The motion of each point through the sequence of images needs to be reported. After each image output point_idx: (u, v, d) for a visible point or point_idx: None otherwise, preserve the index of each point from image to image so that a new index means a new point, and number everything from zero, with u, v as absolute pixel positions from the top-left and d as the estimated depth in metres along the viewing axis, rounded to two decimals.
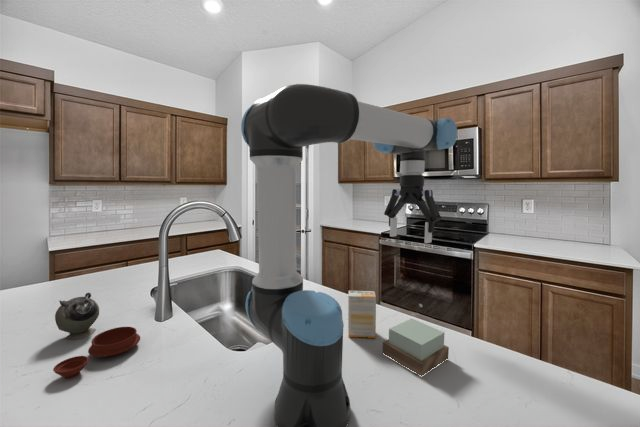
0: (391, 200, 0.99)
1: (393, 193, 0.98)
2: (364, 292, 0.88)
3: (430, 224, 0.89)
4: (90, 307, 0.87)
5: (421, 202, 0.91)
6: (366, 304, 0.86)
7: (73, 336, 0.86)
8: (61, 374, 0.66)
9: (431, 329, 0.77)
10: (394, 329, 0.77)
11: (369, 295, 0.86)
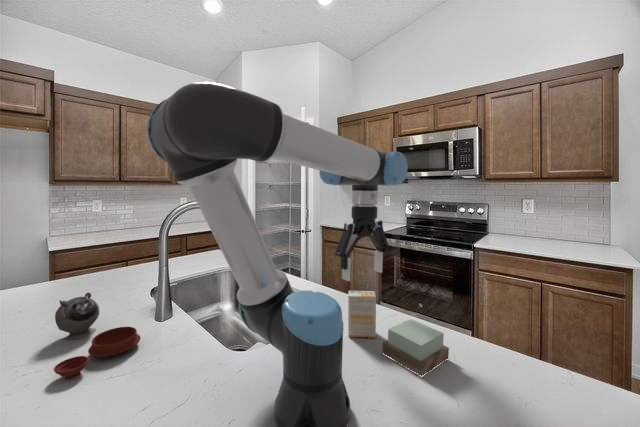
0: None
1: None
2: (364, 292, 0.88)
3: None
4: (90, 307, 0.87)
5: (353, 236, 0.84)
6: (366, 304, 0.86)
7: (73, 336, 0.86)
8: (61, 374, 0.66)
9: (430, 330, 0.77)
10: (394, 330, 0.77)
11: (369, 295, 0.86)
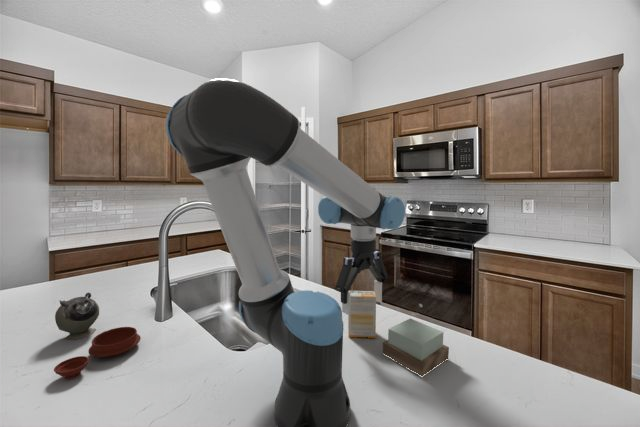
0: None
1: None
2: (364, 292, 0.88)
3: None
4: (90, 307, 0.87)
5: (352, 269, 0.85)
6: (366, 304, 0.86)
7: (73, 336, 0.86)
8: (62, 374, 0.66)
9: (430, 329, 0.77)
10: (394, 329, 0.77)
11: (369, 295, 0.86)
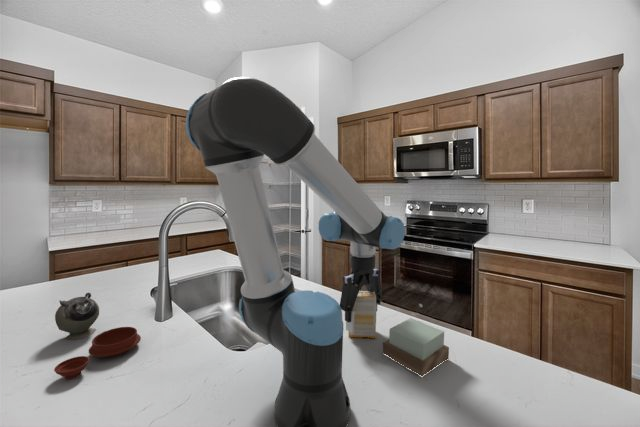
0: None
1: None
2: (364, 292, 0.88)
3: None
4: (90, 307, 0.87)
5: (353, 287, 0.86)
6: (366, 304, 0.86)
7: (73, 336, 0.86)
8: (62, 374, 0.66)
9: (431, 328, 0.77)
10: (395, 329, 0.77)
11: (369, 295, 0.86)
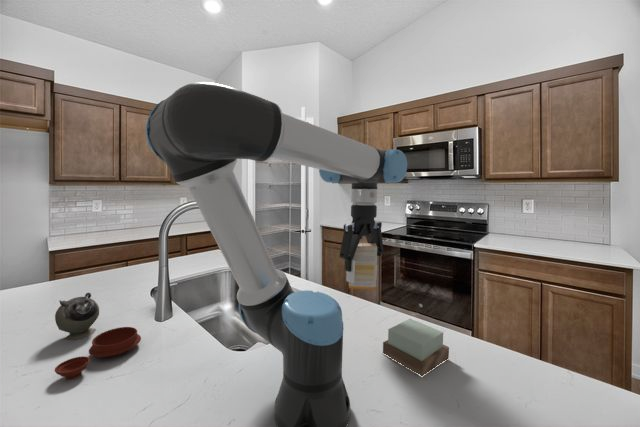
0: None
1: None
2: (365, 243, 0.87)
3: None
4: (90, 307, 0.87)
5: (354, 236, 0.84)
6: (367, 254, 0.84)
7: (73, 336, 0.86)
8: (63, 375, 0.66)
9: (430, 329, 0.77)
10: (394, 330, 0.77)
11: (370, 245, 0.85)
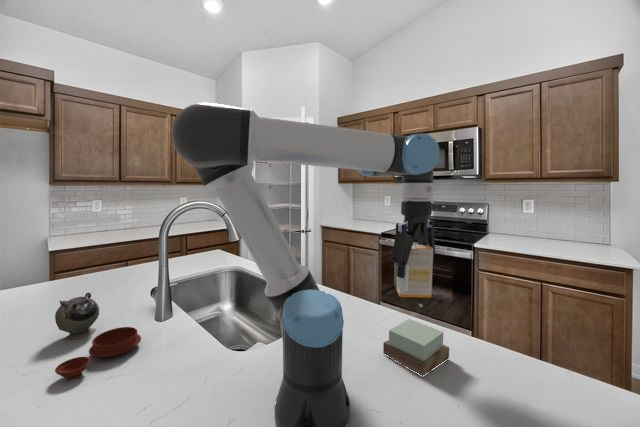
0: None
1: None
2: (417, 245, 0.76)
3: None
4: (90, 307, 0.87)
5: (406, 237, 0.73)
6: (422, 257, 0.73)
7: (73, 336, 0.86)
8: (63, 375, 0.66)
9: (430, 329, 0.77)
10: (395, 331, 0.76)
11: (424, 247, 0.74)
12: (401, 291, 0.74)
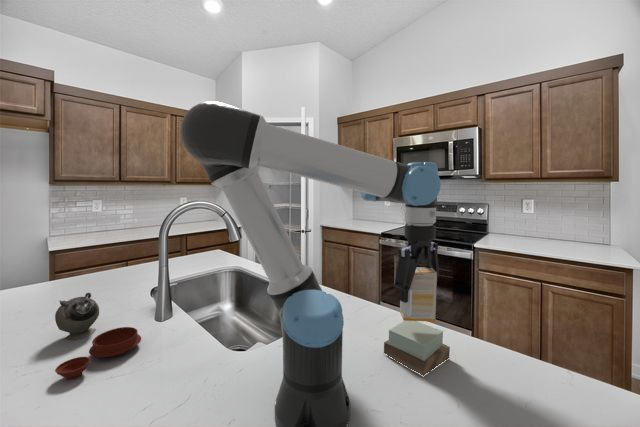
0: None
1: None
2: (420, 268, 0.76)
3: None
4: (90, 307, 0.87)
5: (410, 261, 0.73)
6: (425, 281, 0.73)
7: (73, 336, 0.86)
8: (63, 375, 0.66)
9: (430, 328, 0.77)
10: (394, 330, 0.76)
11: (428, 271, 0.73)
12: (404, 315, 0.74)
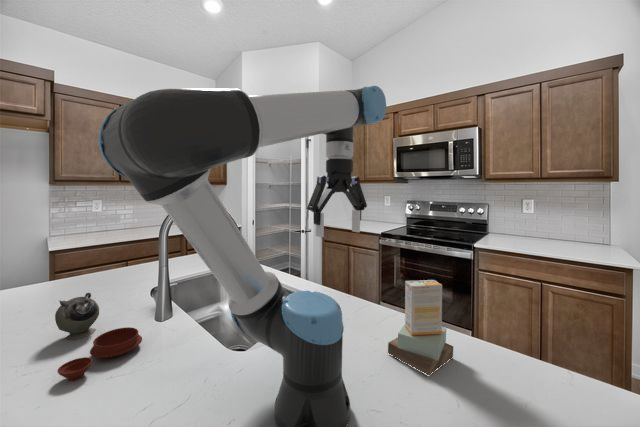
0: None
1: None
2: (425, 281, 0.76)
3: None
4: (90, 307, 0.87)
5: (327, 190, 0.79)
6: (432, 294, 0.74)
7: (73, 336, 0.86)
8: (66, 376, 0.66)
9: None
10: (404, 333, 0.75)
11: (433, 283, 0.74)
12: (413, 329, 0.74)
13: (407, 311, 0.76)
